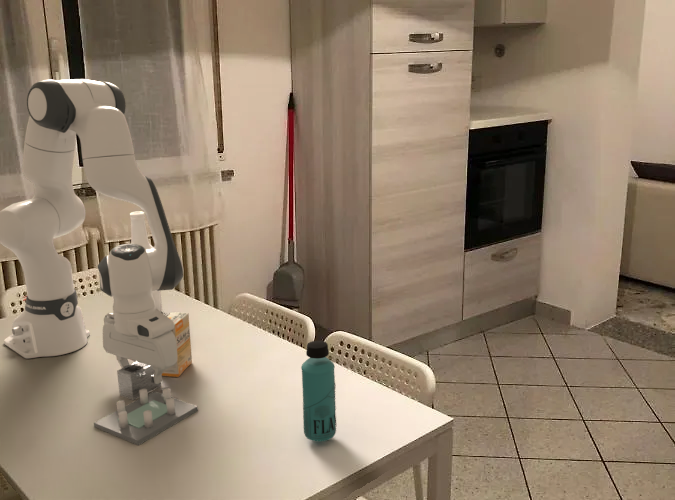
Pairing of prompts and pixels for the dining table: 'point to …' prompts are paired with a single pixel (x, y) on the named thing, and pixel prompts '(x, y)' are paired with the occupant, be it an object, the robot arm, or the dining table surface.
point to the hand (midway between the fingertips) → (142, 377)
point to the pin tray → (145, 432)
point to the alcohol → (143, 245)
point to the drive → (135, 380)
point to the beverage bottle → (318, 393)
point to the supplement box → (180, 344)
